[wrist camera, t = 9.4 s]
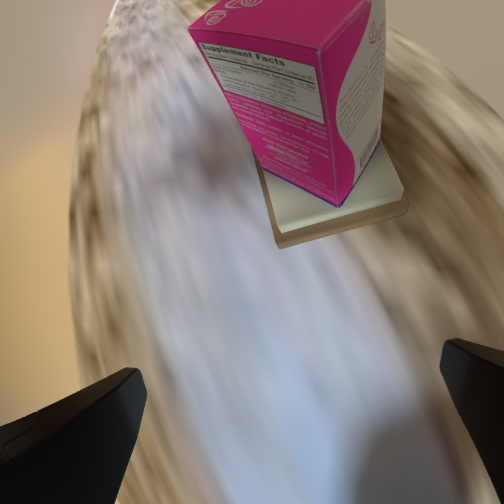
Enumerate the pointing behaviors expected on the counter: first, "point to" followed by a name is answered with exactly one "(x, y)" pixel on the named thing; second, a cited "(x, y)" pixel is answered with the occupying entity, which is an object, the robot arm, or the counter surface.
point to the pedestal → (326, 215)
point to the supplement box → (302, 84)
